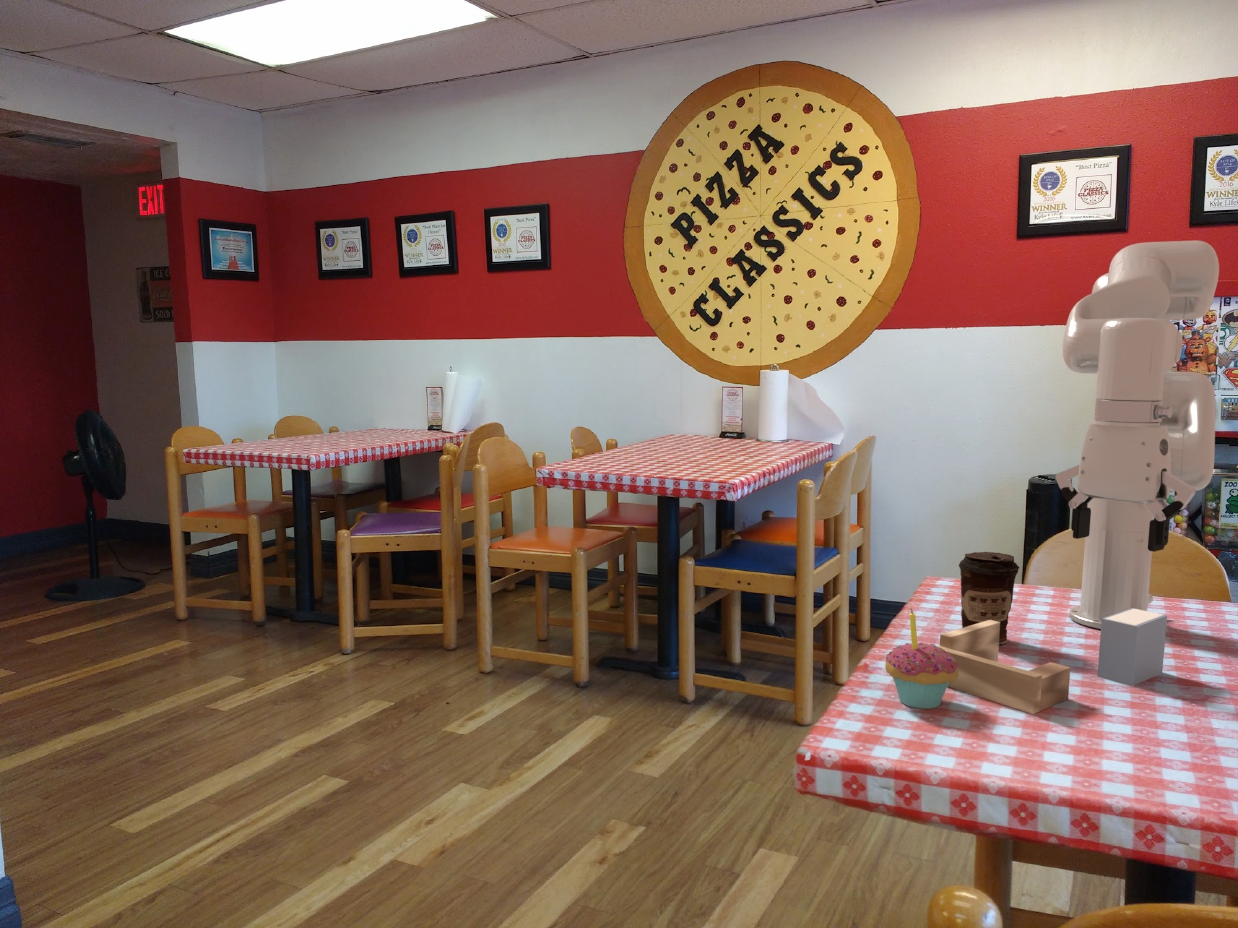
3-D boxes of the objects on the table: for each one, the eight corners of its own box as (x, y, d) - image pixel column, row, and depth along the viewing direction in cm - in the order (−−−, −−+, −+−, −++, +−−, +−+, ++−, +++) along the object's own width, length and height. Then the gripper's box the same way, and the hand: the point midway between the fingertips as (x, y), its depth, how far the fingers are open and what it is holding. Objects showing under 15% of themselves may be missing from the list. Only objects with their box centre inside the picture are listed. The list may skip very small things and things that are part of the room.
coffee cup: (1020, 651, 133) (1026, 563, 132) (959, 646, 135) (965, 559, 133) (1007, 633, 142) (1013, 550, 140) (951, 629, 143) (955, 547, 142)
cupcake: (919, 719, 107) (924, 619, 106) (868, 695, 115) (872, 601, 113) (971, 707, 111) (977, 610, 110) (918, 684, 118) (923, 594, 117)
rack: (987, 661, 128) (989, 619, 127) (1087, 690, 117) (1090, 644, 117) (930, 681, 120) (933, 636, 119) (1033, 713, 109) (1036, 664, 108)
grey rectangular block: (1127, 663, 128) (1132, 607, 127) (1162, 672, 125) (1167, 615, 124) (1097, 676, 123) (1101, 618, 122) (1132, 686, 119) (1137, 626, 118)
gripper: (1213, 417, 115) (1201, 552, 117) (1076, 409, 128) (1067, 530, 130) (1186, 419, 110) (1174, 559, 112) (1047, 411, 124) (1039, 535, 126)
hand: (1117, 543), depth 121 cm, fingers open, 9 cm apart
